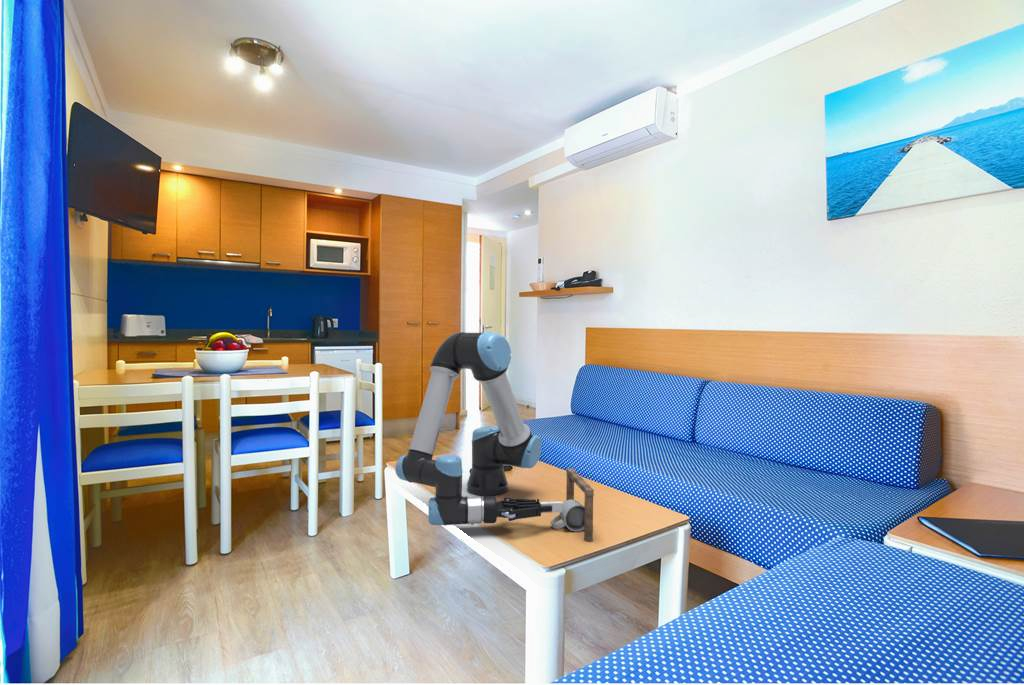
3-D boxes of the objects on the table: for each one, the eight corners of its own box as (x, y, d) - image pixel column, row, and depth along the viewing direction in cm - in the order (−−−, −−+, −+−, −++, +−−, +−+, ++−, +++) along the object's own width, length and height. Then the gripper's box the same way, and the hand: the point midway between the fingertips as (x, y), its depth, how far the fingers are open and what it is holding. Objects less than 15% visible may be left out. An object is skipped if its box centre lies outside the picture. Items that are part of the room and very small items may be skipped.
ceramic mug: (580, 520, 151) (580, 495, 151) (590, 530, 143) (589, 504, 143) (547, 523, 149) (547, 498, 149) (555, 533, 141) (555, 507, 141)
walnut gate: (565, 512, 157) (565, 468, 157) (572, 512, 158) (573, 468, 158) (585, 541, 135) (586, 490, 135) (593, 541, 136) (594, 489, 135)
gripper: (480, 514, 148) (556, 511, 151) (484, 531, 135) (567, 527, 138) (481, 489, 148) (557, 487, 151) (484, 504, 135) (567, 501, 138)
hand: (561, 506), depth 145 cm, fingers closed
